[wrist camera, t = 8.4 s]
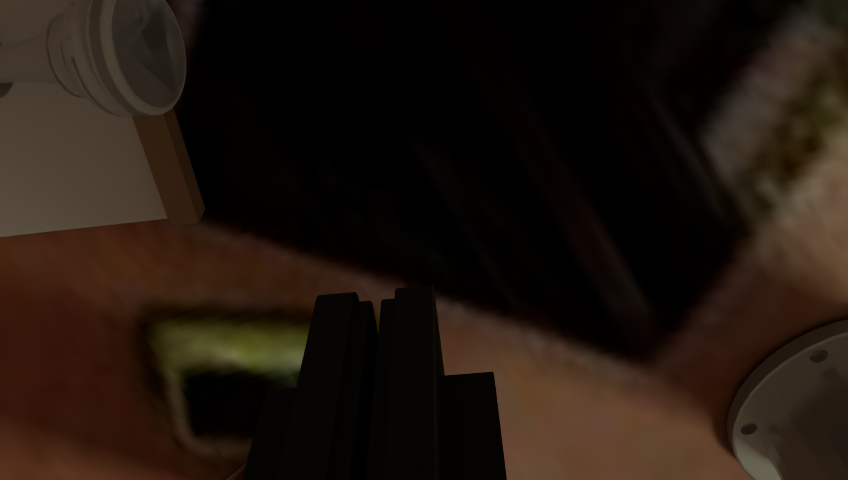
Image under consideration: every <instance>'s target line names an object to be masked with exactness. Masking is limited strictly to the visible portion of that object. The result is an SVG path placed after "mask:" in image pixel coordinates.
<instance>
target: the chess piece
mask: <svg viewBox="0 0 848 480" xmlns="http://www.w3.org/2000/svg"><path fill="white" fill-rule="evenodd" d="M185 77H186V54H185V47H184V41H183V38H182V34H181V30H180V27H179V25H178V22H177V19H176V18H175V15H174V13H173V11H172V10H171V8H170V6H169V5H168V3H167V2H166V0H71V1H70V3H69V5H68V6H67V8H66V10H65V13H62V14H58V15H56V16H55V17H54V18H53V19H51V21H50V22H49V24H48V26H47V28H46V32H44V33H42V34H39V35H37V36H35V37H32V38H29V39H26V40H23V41H20V42H16V43H11V44H6V45H3V44H2V43H1V42H0V99H1V98H4V97H5V96H6V95H7V94H8V93H9V92H10V90H11V89H12V87H13V83H14V82H39V83H49V84H56V85H60V86H61V88H62V89H63V90H65V91H66V92H67V93H69V94H70V95H72V96H75V97H78V98H86V99H87V100H88V101H89V102H91V103H92V104H93V105H95V106H96V107H97V108H99V109H100V110H102V111H104V112H106V113H108V114H111V115H114V116H117V117H121V116H133V115H136V116H152V115H161V114H164V113H166V112H167V111H169V110H171V109H172V108H173V106H174V105H175V104H176V103H177V101H178V100H179V98H180V95H181V93H182V90H183V88H184V83H185Z"/></svg>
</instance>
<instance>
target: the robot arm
mask: <svg viewBox="0 0 848 480" xmlns="http://www.w3.org/2000/svg"><path fill="white" fill-rule="evenodd" d="M727 437H728V440H729V443H730V446H731V449H732V451H733V453H734V455H735V456H736V458H737V460H738V462H739V464H740V466H741V467H742V468H743V469H744V470H745V471H746V472H747V473H748V474H749V475H750V477H751V478H753V479H755V480H848V319H846V320H842V321H838V322H834V323H831V324H829V325H826V326H823V327H821V328H818V329H815V330H813V331H810V332H808V333H806V334H804V335H803V336H801V337H799V338H797V339H795V340H793V341H791V342H789V343H787V344H786V345H785V346H783V347H782V348H780V349H779V350H778V351H776V352H775V353H773V354H772V355H771V356H769V357H768V358H767V359H766V360H765V361H764V362H762V363H761V364H760V365H759V366H758V367H757V368H756V369H755V370H754V371H753V372H752V373H751V374H750V375H749V377H748V378H747V379H746V381H745V382H744V383H743V385H742V386H741V387H740V388H739V390H738V392H737V394H736V396H735V398H734V400H733V402H732V404H731V406H730V410H729V414H728V418H727ZM242 480H507V478H506V470H505V461H504V453H503V445H502V437H501V428H500V420H499V412H498V404H497V395H496V387H495V379H494V373H493V372H484V373H471V374H459V375H447V376H445V374H444V366H443V358H442V350H441V342H440V334H439V325H438V317H437V309H436V301H435V293H434V287H433V285H430V286H419V287H407V288H396V290H395V299H384V300H382V302H381V311H380V323H379V334H378V331H377V326H376V320H375V315H374V309H373V305H372V302H371V301H362V302H359V298H358V295H357V293H356V292H351V293H339V294H328V295H319V296H317V299H316V302H315V307H314V311H313V316H312V320H311V325H310V329H309V334H308V338H307V343H306V347H305V352H304V356H303V361H302V365H301V369H300V374H299V378H298V383H297V387H296V388H286V389H273V390H269V392H268V393H267V394H266V396H265V399H264V401H263V404H262V408H261V412H260V415H259V419H258V423H257V426H256V430H255V434H254V437H253V441H252V445H251V448H250V452H249V455H248V459H247V463H246V466H245V470H244V474H243V477H242Z"/></svg>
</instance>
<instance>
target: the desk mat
mask: <svg viewBox="0 0 848 480" xmlns="http://www.w3.org/2000/svg"><path fill="white" fill-rule="evenodd" d="M70 1H71V0H0V42H1V43H2V44H3V45H6V44H11V43H16V42H20V41H23V40H26V39H29V38H32V37H35V36H37V35H39V34H42V33H44V32H46V28H47V26H48V24H49V22H50V21H51V19H53V18H54V17H55V16H56V15H58V14H62V13H65V10H66V8H67V6H68V5H69V3H70ZM204 211H205V206H204V203H203V200H202V197H201V194H200V191H199V187H198V184H197V181H196V178H195V175H194V172H193V168H192V165H191V162H190V159H189V156H188V153H187V149H186V146H185V143H184V140H183V137H182V134H181V130H180V127H179V124H178V121H177V118H176V115H175V111H174V108H172V109H171V110H169V111H167V112H166V113H164V114H161V115H152V116H136V115H133V116H121V117H117V116H114V115H111V114H108V113H106V112H104V111H102V110H100V109H99V108H97V107H96V106H95V105H93V104H92V103H91V102H89V101H88V100H87V99H86V98H78V97H75V96H72V95H70V94H69V93H67V92H66V91H65V90H63V89H62V88H61V86H60V85H56V84H49V83H39V82H14V83H13V87H12V89H11V90H10V92H9V93H8V94H7V95H6V96H5V97H4V98H1V99H0V237H5V236H14V235H23V234H32V233H41V232H50V231H60V230H69V229H78V228H87V227H96V226H105V225H114V224H123V223H132V222H141V221H150V220H159V219H168V220H169V223H170V226H178V225H188V224H197V223H199V222H200V220H201V217H202V215H203V213H204Z"/></svg>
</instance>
